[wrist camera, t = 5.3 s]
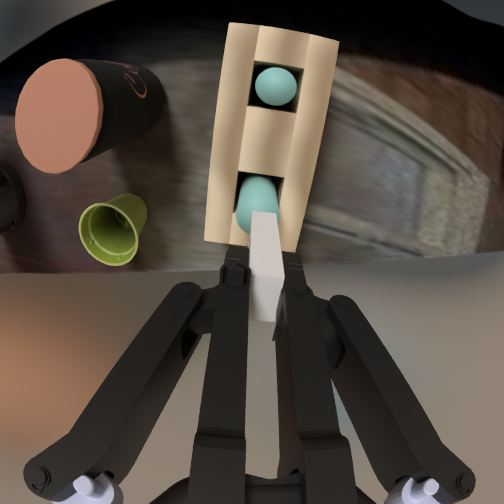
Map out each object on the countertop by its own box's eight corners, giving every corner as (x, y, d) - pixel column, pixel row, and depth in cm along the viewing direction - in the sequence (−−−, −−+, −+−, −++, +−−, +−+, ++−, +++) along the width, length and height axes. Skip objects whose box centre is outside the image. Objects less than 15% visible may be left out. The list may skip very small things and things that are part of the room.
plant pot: (96, 197, 40) (67, 220, 33) (139, 171, 38) (113, 192, 31) (124, 243, 45) (102, 273, 37) (168, 223, 43) (150, 253, 35)
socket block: (214, 210, 41) (204, 240, 34) (236, 38, 28) (229, 22, 20) (288, 220, 42) (294, 252, 34) (320, 52, 29) (339, 41, 21)
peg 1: (253, 100, 31) (252, 102, 25) (258, 71, 29) (258, 64, 23) (285, 105, 32) (293, 108, 25) (290, 76, 30) (299, 71, 23)
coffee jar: (182, 89, 32) (121, 89, 17) (140, 150, 36) (69, 195, 21) (125, 53, 28) (43, 42, 13) (89, 114, 33) (4, 142, 18)
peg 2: (238, 201, 34) (233, 232, 27) (243, 169, 31) (238, 193, 25) (272, 206, 34) (275, 238, 27) (277, 174, 32) (283, 199, 25)
